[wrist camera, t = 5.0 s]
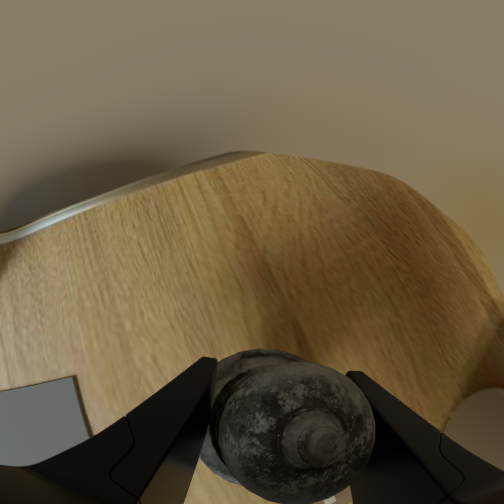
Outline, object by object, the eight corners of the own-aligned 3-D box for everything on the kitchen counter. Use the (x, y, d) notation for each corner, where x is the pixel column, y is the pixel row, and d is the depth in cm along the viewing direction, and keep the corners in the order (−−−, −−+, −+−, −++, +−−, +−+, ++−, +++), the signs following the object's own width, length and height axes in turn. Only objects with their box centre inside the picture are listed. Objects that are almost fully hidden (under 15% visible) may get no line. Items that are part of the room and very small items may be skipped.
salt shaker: (251, 338, 15) (292, 172, 5) (337, 407, 14) (530, 372, 3) (172, 418, 13) (19, 430, 3) (262, 491, 11) (331, 643, 1)
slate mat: (126, 521, 14) (124, 522, 13) (17, 518, 11) (14, 519, 11) (74, 377, 19) (71, 376, 18) (-21, 396, 16) (-24, 395, 16)
